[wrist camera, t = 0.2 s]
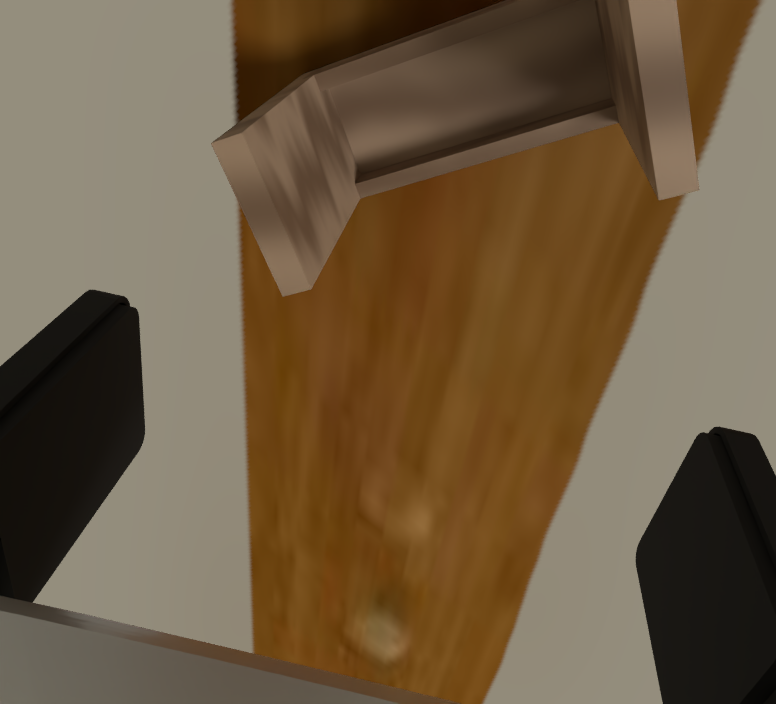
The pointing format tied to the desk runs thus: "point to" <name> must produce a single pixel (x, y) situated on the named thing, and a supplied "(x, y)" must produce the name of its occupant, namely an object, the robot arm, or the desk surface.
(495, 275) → the desk surface
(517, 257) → the desk surface
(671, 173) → the door frame
